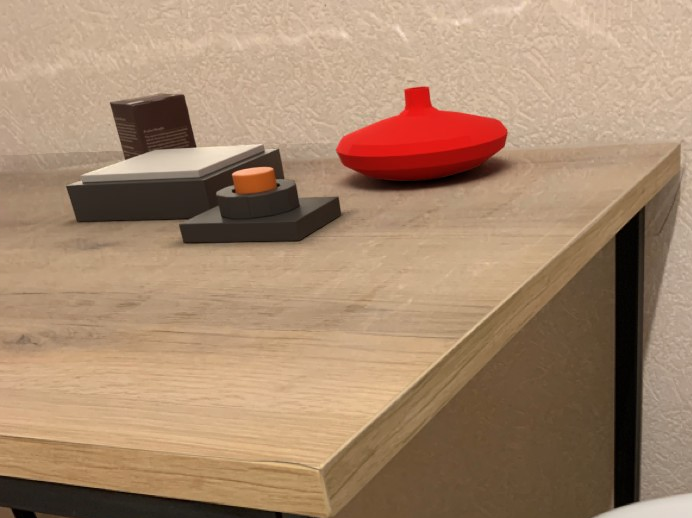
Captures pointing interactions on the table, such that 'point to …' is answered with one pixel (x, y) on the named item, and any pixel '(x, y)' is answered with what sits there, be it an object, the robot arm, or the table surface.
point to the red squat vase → (422, 142)
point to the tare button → (254, 180)
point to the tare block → (261, 216)
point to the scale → (165, 182)
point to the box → (153, 124)
